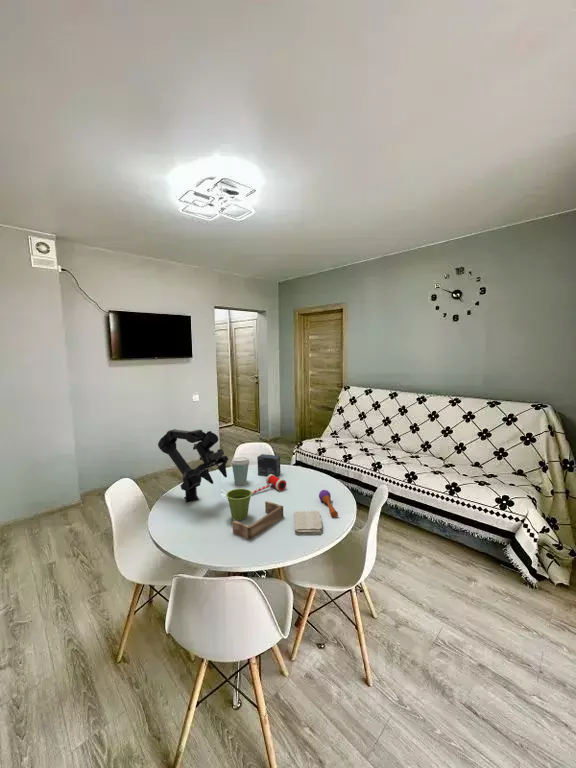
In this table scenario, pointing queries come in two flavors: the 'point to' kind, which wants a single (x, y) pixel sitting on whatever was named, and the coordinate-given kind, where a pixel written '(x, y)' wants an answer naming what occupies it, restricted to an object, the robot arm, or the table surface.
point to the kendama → (328, 502)
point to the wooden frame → (259, 522)
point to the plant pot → (239, 503)
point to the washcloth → (308, 523)
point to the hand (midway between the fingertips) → (219, 480)
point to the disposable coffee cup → (240, 470)
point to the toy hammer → (273, 483)
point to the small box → (268, 465)
